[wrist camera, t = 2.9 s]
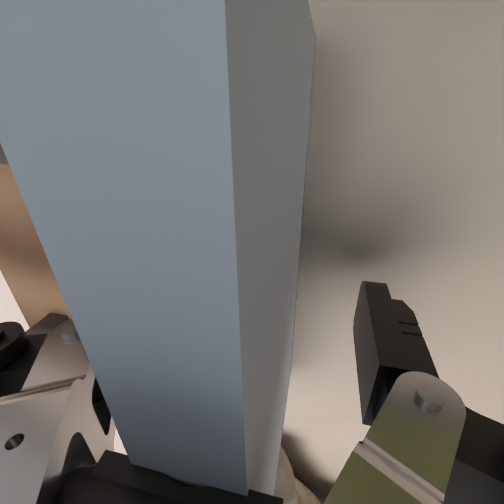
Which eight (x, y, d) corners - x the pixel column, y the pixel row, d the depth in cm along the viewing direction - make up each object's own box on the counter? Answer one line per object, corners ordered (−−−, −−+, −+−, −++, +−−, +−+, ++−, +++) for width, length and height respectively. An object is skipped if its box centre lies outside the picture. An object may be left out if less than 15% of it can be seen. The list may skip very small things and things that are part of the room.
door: (240, 41, 10) (-244, -246, 2) (315, 36, 10) (203, -443, 1) (248, 360, 18) (174, 606, 9) (291, 367, 17) (253, 637, 9)
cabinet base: (-108, -70, 11) (-346, -160, 7) (127, -115, 9) (-31, -276, 5) (81, 367, 22) (30, 423, 19) (202, 392, 20) (173, 462, 16)
